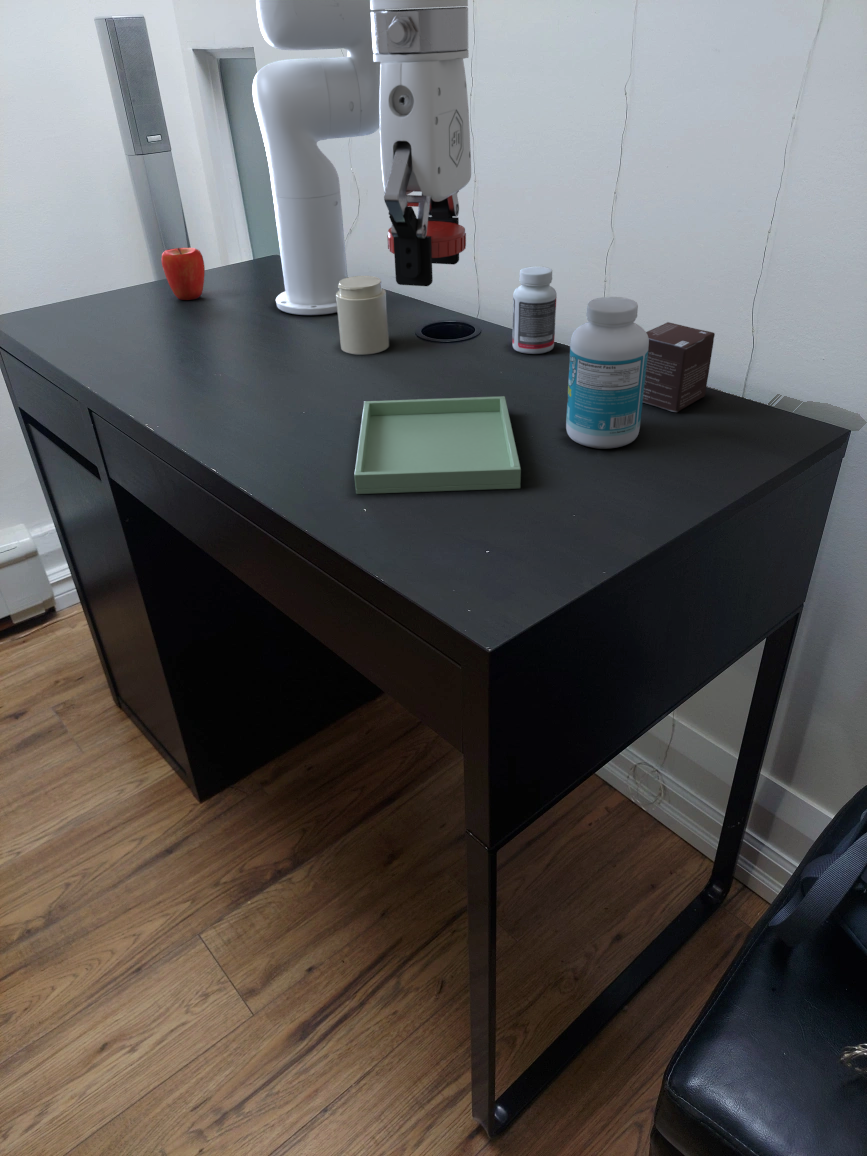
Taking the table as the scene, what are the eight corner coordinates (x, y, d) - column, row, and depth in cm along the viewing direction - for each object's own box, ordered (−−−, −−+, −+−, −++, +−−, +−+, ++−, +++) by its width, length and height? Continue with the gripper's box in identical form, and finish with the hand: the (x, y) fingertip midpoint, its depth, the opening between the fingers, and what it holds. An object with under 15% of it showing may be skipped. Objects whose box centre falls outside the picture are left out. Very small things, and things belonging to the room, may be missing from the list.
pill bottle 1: (562, 349, 108) (567, 270, 103) (530, 358, 106) (532, 278, 100) (536, 338, 112) (538, 262, 106) (503, 346, 110) (505, 269, 104)
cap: (452, 261, 71) (451, 241, 70) (376, 255, 73) (375, 236, 72) (475, 241, 76) (475, 223, 75) (404, 237, 78) (403, 219, 77)
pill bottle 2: (585, 415, 91) (594, 288, 83) (650, 430, 87) (666, 298, 80) (552, 441, 86) (558, 308, 78) (619, 458, 82) (633, 320, 75)
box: (659, 384, 97) (667, 321, 93) (706, 397, 94) (716, 332, 90) (629, 399, 94) (636, 334, 90) (676, 414, 90) (685, 347, 86)
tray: (365, 418, 92) (364, 401, 91) (504, 413, 92) (504, 396, 91) (356, 494, 78) (354, 475, 77) (520, 488, 78) (520, 469, 77)
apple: (208, 290, 136) (200, 241, 132) (210, 300, 131) (201, 250, 127) (168, 294, 135) (158, 245, 131) (169, 304, 130) (158, 254, 126)
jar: (342, 339, 114) (336, 275, 109) (389, 337, 114) (385, 273, 109) (339, 355, 109) (333, 289, 104) (389, 353, 109) (384, 287, 104)
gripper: (428, 41, 58) (436, 303, 68) (496, 32, 71) (495, 252, 81) (329, 44, 60) (351, 298, 70) (413, 35, 74) (422, 249, 84)
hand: (428, 271), depth 76 cm, fingers closed on cap, 6 cm apart
